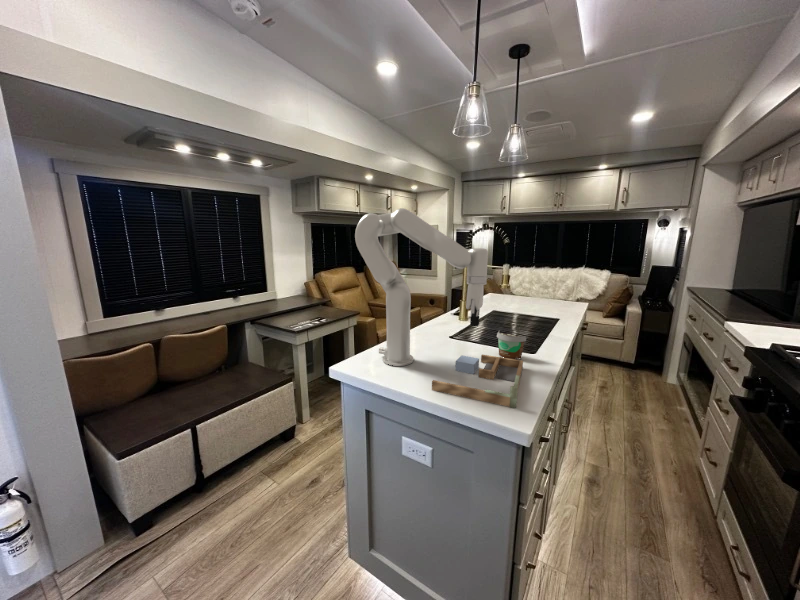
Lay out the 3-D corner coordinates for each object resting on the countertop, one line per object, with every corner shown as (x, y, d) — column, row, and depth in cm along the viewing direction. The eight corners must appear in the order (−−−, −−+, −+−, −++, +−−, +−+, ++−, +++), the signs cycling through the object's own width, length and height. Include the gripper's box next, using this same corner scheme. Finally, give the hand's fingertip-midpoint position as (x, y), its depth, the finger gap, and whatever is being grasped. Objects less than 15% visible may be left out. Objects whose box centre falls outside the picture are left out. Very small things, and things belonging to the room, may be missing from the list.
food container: (490, 355, 132) (491, 333, 130) (496, 351, 137) (498, 330, 135) (518, 362, 124) (520, 339, 122) (524, 358, 128) (526, 335, 126)
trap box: (431, 390, 100) (431, 373, 99) (457, 357, 130) (458, 343, 128) (515, 408, 89) (517, 389, 88) (523, 368, 119) (524, 353, 117)
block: (455, 370, 116) (455, 360, 116) (461, 364, 122) (461, 355, 122) (473, 374, 113) (473, 364, 112) (478, 368, 119) (479, 358, 118)
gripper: (471, 277, 128) (469, 320, 132) (462, 281, 115) (460, 329, 118) (489, 278, 125) (487, 322, 129) (482, 283, 112) (480, 331, 115)
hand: (474, 325), depth 123 cm, fingers closed
